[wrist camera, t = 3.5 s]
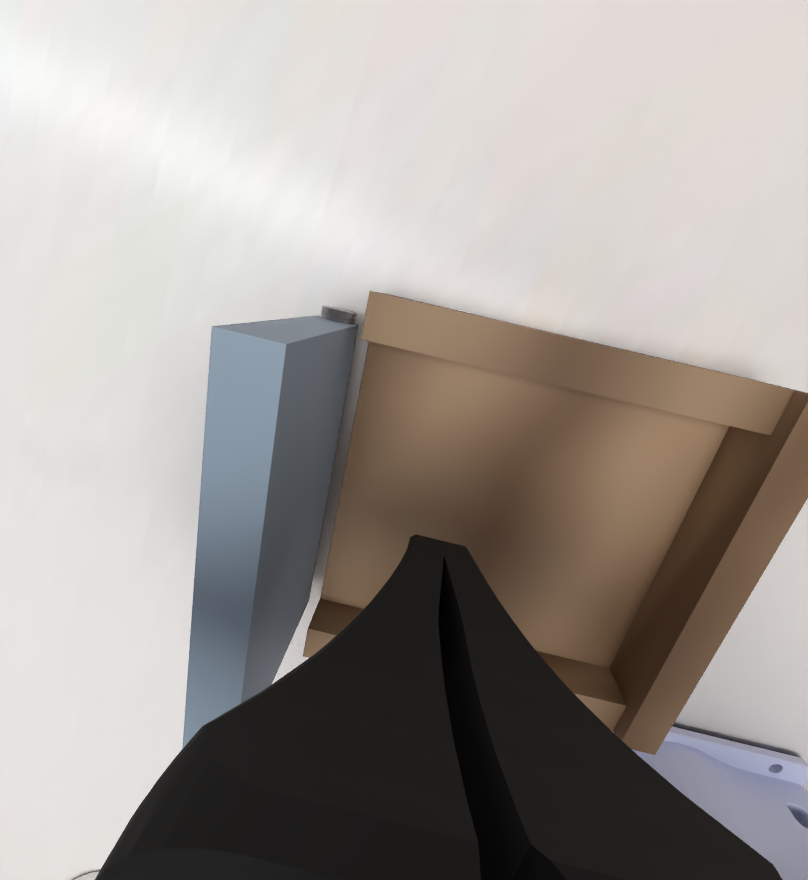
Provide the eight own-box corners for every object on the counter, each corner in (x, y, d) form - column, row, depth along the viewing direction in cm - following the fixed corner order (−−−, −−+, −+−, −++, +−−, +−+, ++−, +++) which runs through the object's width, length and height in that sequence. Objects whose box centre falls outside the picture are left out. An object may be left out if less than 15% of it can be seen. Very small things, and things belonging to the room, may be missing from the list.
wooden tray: (756, 380, 13) (862, 406, 10) (613, 667, 17) (654, 755, 14) (385, 293, 13) (366, 290, 10) (325, 597, 17) (298, 667, 14)
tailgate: (363, 314, 13) (288, 324, 6) (311, 597, 16) (230, 781, 10) (324, 304, 13) (213, 306, 6) (281, 590, 16) (181, 769, 10)
